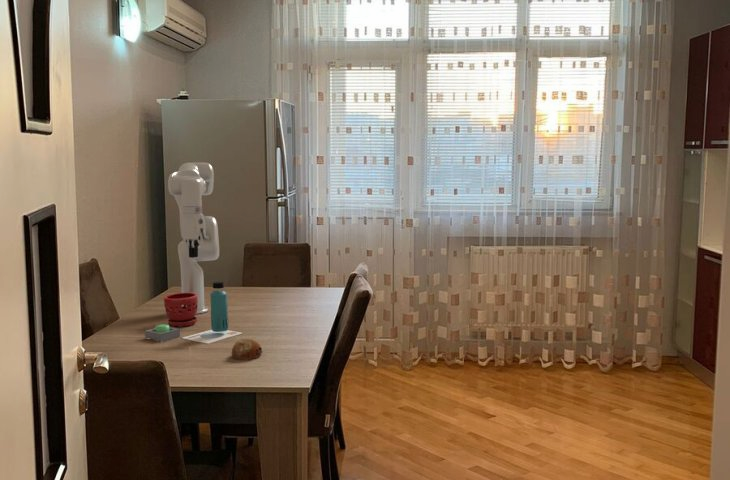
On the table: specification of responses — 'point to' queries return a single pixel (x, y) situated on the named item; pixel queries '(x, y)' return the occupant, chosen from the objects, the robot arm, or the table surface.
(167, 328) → the button
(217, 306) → the beverage bottle
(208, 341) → the drawing sheet
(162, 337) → the button housing
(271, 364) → the table surface
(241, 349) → the bread roll
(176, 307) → the plant pot
